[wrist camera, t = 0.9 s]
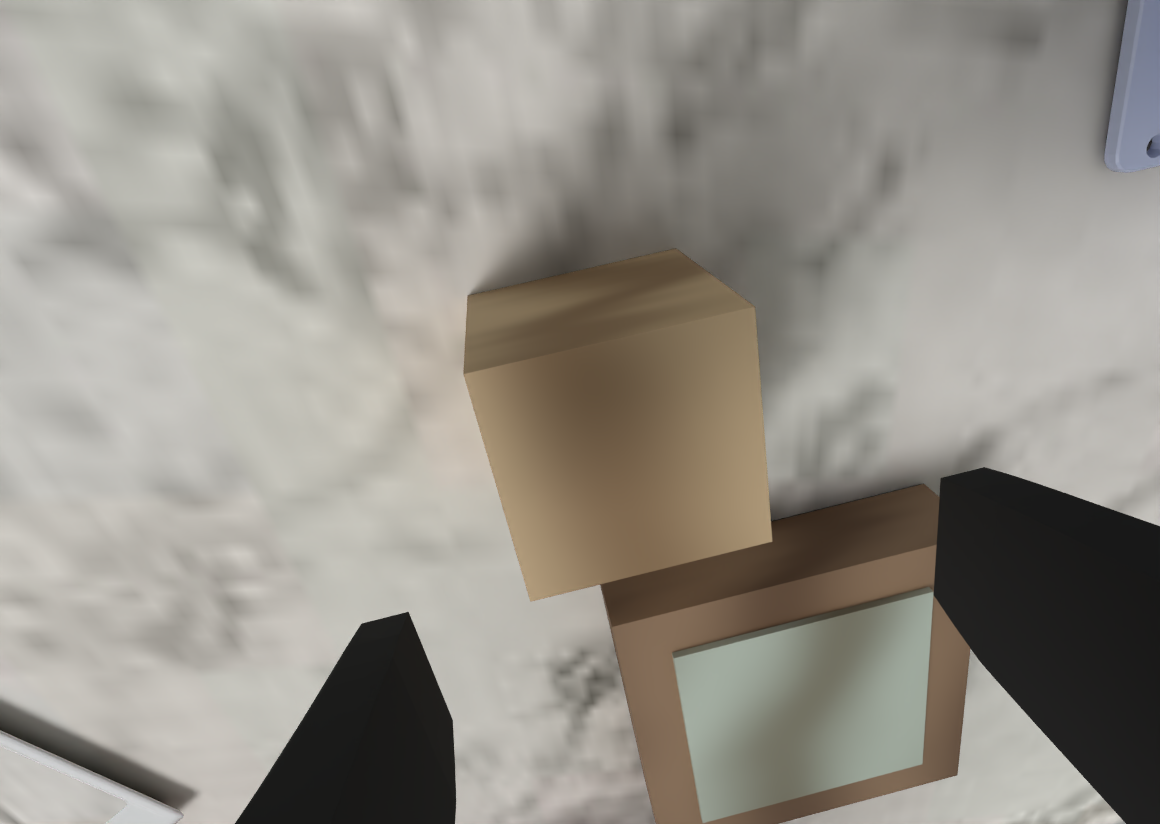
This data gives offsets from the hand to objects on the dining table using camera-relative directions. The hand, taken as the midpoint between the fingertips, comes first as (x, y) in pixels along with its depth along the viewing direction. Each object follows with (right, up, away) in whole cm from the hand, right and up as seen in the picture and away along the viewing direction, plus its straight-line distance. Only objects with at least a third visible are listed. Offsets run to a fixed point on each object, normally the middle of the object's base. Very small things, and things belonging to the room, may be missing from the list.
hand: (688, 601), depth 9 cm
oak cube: (-1, +4, +8) cm, 9 cm away
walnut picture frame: (+5, -5, +13) cm, 14 cm away
